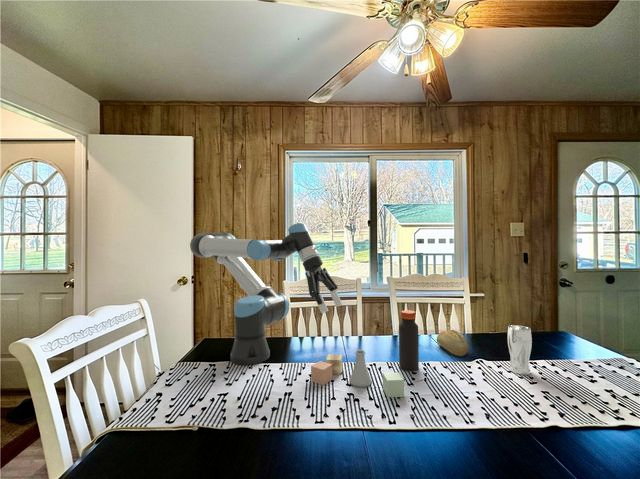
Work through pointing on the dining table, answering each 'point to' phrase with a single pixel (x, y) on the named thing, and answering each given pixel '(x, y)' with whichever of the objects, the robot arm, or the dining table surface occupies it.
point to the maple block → (335, 363)
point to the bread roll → (453, 342)
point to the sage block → (393, 384)
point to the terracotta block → (321, 372)
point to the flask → (360, 371)
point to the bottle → (408, 342)
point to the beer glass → (519, 348)
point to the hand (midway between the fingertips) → (332, 309)
